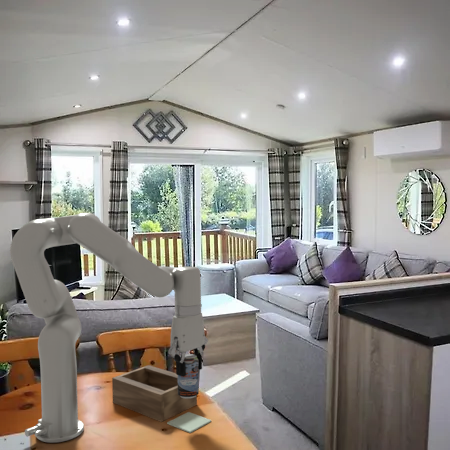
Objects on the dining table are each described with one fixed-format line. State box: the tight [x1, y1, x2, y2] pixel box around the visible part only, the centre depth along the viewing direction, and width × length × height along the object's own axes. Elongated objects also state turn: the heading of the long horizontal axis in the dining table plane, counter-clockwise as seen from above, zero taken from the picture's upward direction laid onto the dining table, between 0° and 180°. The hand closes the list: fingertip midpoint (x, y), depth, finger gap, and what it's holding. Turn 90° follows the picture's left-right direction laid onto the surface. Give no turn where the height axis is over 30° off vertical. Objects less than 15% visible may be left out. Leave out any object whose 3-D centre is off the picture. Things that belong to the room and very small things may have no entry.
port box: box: [111, 364, 198, 423], centre depth 152 cm, size 15×22×8 cm
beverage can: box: [178, 353, 200, 398], centre depth 138 cm, size 6×7×12 cm
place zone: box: [166, 411, 212, 434], centre depth 139 cm, size 9×9×1 cm
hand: (189, 371), depth 138 cm, fingers closed on beverage can, 6 cm apart
